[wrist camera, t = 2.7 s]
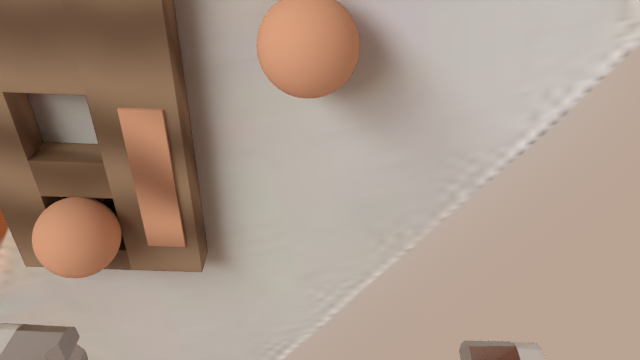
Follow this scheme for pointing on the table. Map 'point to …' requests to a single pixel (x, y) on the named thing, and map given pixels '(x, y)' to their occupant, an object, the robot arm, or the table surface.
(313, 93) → the terracotta ball
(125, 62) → the walnut ball rack
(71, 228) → the terracotta ball
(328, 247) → the table surface
